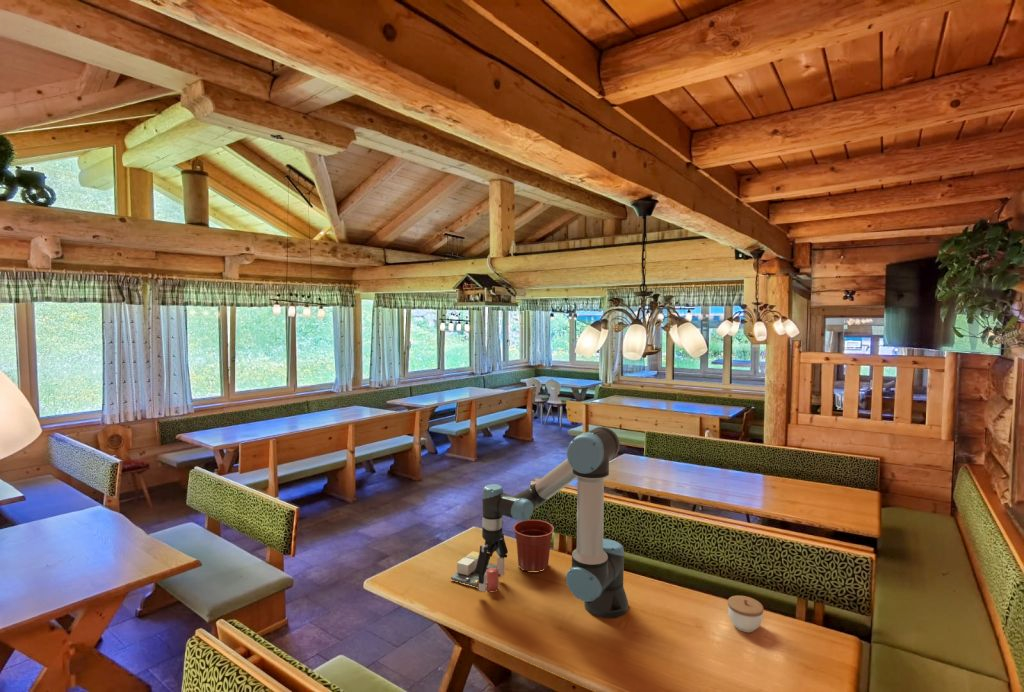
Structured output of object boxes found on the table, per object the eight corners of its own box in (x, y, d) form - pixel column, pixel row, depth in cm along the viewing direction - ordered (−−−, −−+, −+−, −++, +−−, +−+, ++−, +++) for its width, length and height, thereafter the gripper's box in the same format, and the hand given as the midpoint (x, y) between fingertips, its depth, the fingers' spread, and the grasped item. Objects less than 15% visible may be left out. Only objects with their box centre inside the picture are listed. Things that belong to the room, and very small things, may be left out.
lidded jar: (742, 639, 164) (743, 610, 163) (720, 620, 174) (720, 593, 174) (770, 633, 167) (771, 605, 166) (747, 615, 177) (747, 588, 177)
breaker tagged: (483, 563, 209) (483, 553, 209) (476, 569, 205) (476, 558, 205) (472, 560, 212) (472, 550, 211) (466, 566, 207) (466, 555, 207)
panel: (502, 571, 207) (502, 565, 207) (482, 589, 193) (482, 584, 193) (473, 563, 213) (473, 557, 213) (450, 580, 199) (450, 575, 199)
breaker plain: (474, 569, 204) (474, 560, 204) (467, 575, 200) (467, 565, 199) (464, 566, 206) (464, 557, 206) (457, 572, 202) (457, 562, 202)
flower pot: (560, 563, 214) (561, 525, 213) (541, 580, 200) (541, 539, 199) (526, 553, 222) (526, 516, 221) (505, 569, 208) (505, 530, 207)
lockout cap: (500, 587, 195) (500, 569, 194) (494, 593, 191) (494, 574, 190) (490, 584, 197) (490, 566, 196) (484, 590, 193) (484, 572, 192)
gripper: (499, 513, 205) (499, 565, 206) (465, 537, 183) (465, 595, 184) (516, 517, 201) (516, 569, 203) (483, 542, 179) (483, 601, 181)
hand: (491, 582), depth 194 cm, fingers open, 13 cm apart
